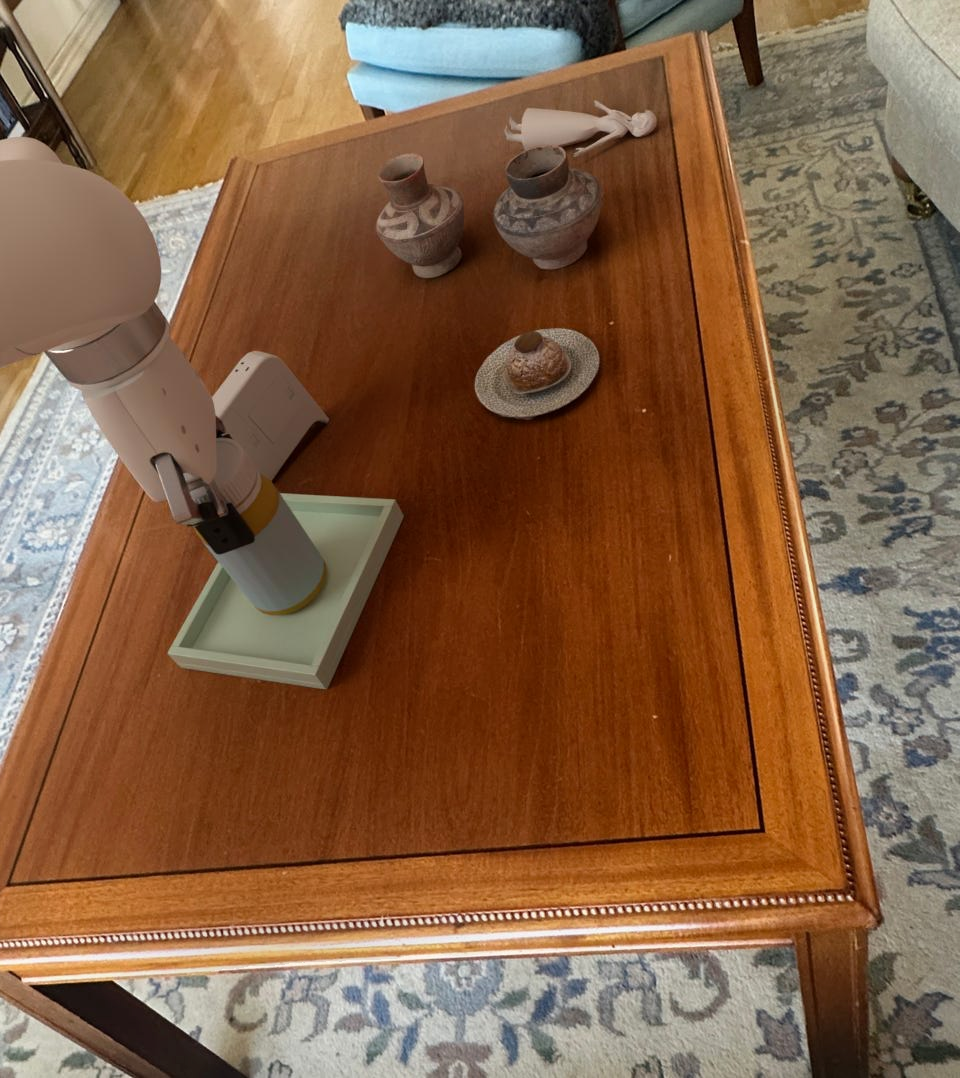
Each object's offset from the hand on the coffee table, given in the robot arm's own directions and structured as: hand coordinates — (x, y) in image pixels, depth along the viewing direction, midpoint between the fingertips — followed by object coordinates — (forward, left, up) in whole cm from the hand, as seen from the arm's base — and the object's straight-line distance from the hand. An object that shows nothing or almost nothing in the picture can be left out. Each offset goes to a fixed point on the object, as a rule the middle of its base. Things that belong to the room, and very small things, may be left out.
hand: (234, 509), depth 76 cm
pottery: (+45, -5, -11) cm, 47 cm away
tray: (0, 0, -11) cm, 11 cm away
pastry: (+26, -15, -11) cm, 32 cm away
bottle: (0, 0, -10) cm, 10 cm away
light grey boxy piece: (+13, +9, -11) cm, 19 cm away
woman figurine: (+67, -9, -11) cm, 69 cm away
